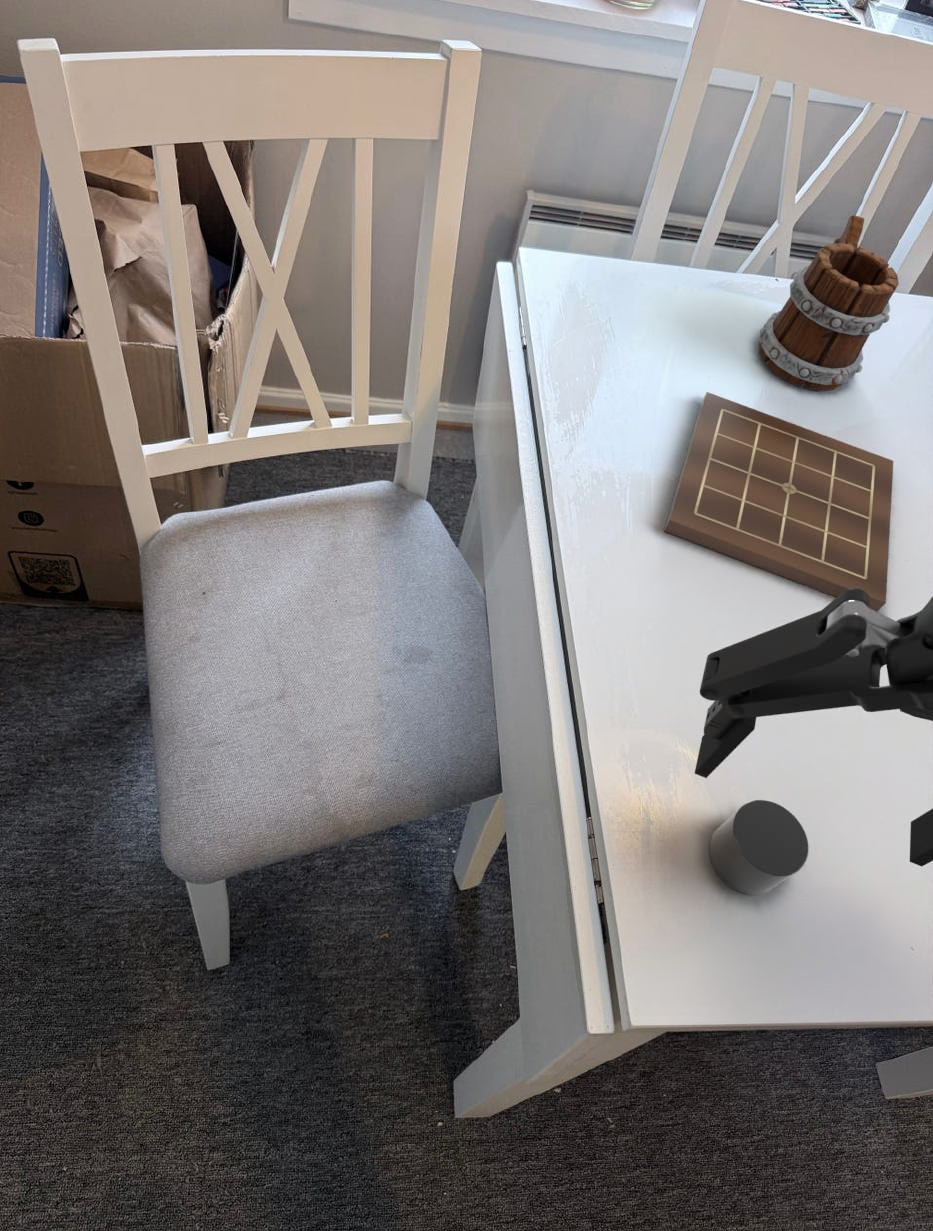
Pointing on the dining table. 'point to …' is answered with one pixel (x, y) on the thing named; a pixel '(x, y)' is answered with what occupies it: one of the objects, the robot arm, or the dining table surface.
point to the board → (785, 500)
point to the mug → (829, 314)
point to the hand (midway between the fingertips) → (808, 800)
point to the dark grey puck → (758, 847)
